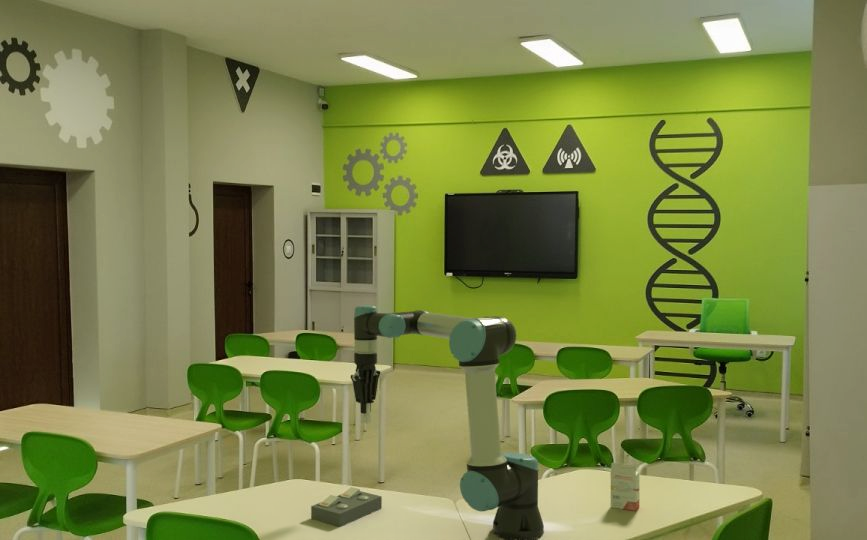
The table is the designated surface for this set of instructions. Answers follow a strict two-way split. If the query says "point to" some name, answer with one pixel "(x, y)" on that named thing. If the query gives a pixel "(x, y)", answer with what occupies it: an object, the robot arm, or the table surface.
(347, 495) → the rocker
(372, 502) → the switch panel
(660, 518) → the table surface
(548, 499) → the table surface
